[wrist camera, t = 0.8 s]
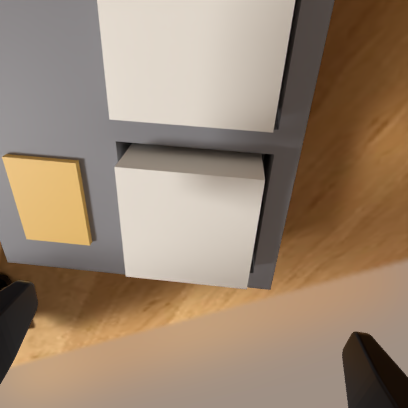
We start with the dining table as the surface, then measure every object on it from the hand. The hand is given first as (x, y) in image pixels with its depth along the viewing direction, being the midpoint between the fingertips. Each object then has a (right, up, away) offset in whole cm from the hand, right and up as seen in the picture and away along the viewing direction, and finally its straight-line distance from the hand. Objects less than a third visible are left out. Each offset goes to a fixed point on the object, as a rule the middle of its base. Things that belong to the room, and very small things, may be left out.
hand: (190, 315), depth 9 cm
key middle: (0, +9, +3) cm, 10 cm away
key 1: (0, +3, +6) cm, 7 cm away
